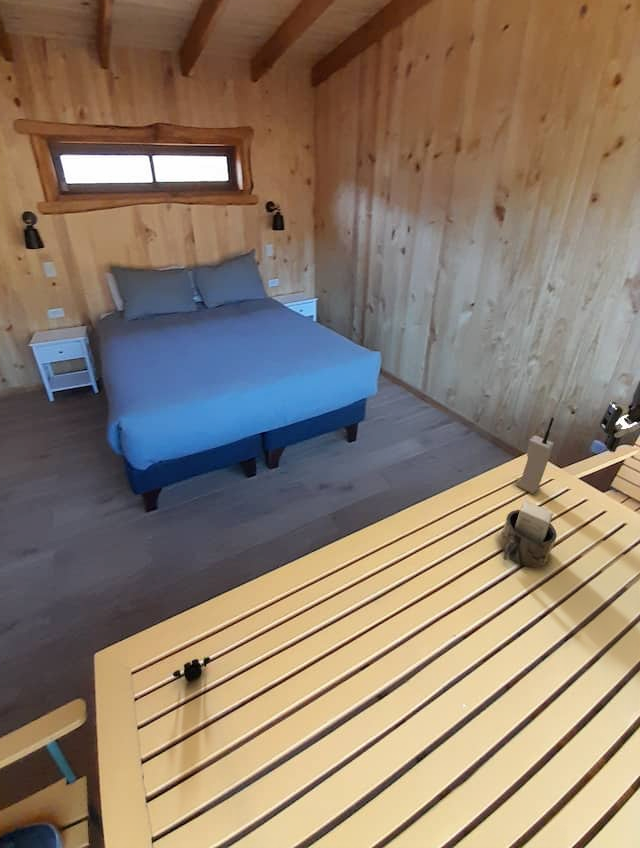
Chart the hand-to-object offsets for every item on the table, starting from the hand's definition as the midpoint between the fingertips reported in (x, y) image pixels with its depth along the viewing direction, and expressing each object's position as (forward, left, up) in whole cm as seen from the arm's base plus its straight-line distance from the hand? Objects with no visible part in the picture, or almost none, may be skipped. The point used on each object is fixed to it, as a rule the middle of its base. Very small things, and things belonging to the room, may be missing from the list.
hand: (634, 452), depth 80 cm
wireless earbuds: (+80, +44, -34) cm, 97 cm away
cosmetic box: (+12, -2, -34) cm, 36 cm away
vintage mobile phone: (+5, -26, -34) cm, 43 cm away
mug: (+13, -1, -34) cm, 37 cm away
